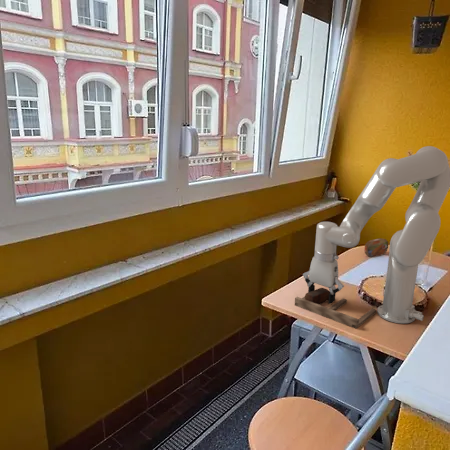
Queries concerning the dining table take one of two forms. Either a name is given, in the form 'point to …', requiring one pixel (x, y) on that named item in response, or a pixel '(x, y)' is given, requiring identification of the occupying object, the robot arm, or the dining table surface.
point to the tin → (376, 247)
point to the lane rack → (334, 312)
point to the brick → (318, 296)
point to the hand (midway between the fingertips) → (321, 298)
